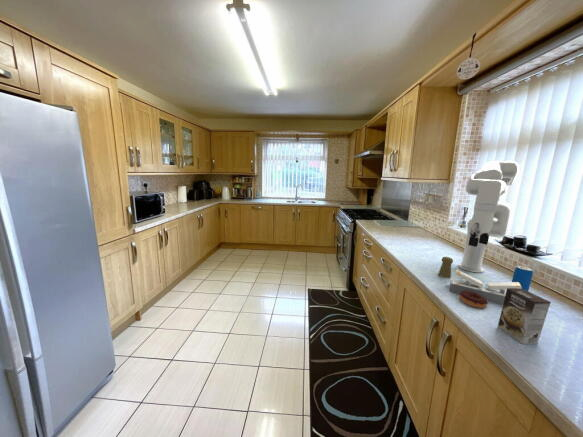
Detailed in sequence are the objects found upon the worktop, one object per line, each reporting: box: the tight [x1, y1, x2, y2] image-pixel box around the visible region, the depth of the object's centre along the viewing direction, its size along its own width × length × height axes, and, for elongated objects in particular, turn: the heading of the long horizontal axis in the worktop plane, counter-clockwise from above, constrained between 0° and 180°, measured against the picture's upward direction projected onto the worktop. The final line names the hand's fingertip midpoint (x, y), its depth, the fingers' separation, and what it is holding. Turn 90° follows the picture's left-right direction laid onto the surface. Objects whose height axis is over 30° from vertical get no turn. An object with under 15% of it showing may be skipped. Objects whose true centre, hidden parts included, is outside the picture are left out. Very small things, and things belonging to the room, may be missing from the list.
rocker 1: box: [454, 269, 484, 287], centre depth 110 cm, size 4×11×2 cm, turn 57°
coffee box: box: [497, 288, 551, 345], centre depth 80 cm, size 9×6×16 cm
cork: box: [438, 256, 454, 279], centre depth 128 cm, size 6×6×11 cm
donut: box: [459, 291, 489, 309], centre depth 101 cm, size 10×10×4 cm
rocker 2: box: [486, 281, 522, 290], centre depth 104 cm, size 4×11×2 cm, turn 57°
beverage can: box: [511, 265, 534, 292], centre depth 114 cm, size 6×6×12 cm
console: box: [449, 277, 507, 306], centre depth 107 cm, size 8×27×6 cm, turn 57°
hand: (477, 244), depth 104 cm, fingers open, 9 cm apart
